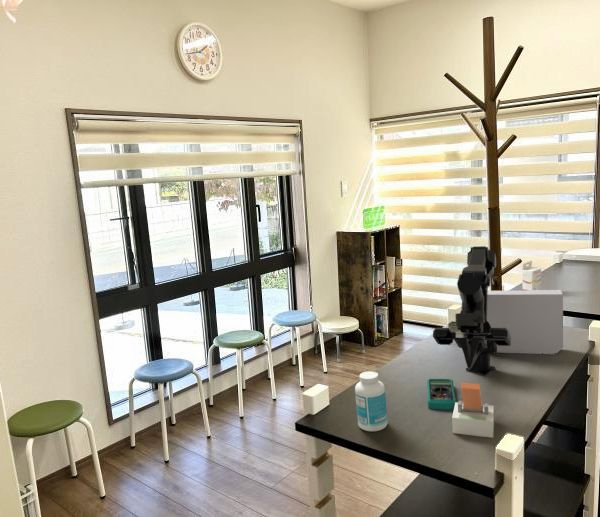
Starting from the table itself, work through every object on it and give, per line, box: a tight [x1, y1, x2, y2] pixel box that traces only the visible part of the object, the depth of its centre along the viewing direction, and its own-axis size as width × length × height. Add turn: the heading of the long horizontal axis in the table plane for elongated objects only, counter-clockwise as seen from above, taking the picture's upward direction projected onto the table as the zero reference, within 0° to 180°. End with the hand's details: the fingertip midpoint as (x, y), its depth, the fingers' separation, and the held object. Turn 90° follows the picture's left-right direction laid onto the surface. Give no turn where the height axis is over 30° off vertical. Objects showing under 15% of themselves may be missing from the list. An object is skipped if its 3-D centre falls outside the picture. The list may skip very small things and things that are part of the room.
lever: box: [460, 382, 483, 412], centre depth 118 cm, size 2×4×11 cm
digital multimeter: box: [426, 378, 457, 411], centre depth 138 cm, size 7×15×3 cm, turn 167°
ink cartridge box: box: [521, 260, 542, 291], centre depth 228 cm, size 9×5×15 cm, turn 130°
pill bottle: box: [354, 370, 389, 432], centre depth 126 cm, size 8×7×14 cm
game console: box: [487, 289, 564, 355], centre depth 165 cm, size 6×27×20 cm, turn 71°
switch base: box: [451, 400, 495, 439], centre depth 121 cm, size 8×9×6 cm
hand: (469, 367), depth 128 cm, fingers closed
